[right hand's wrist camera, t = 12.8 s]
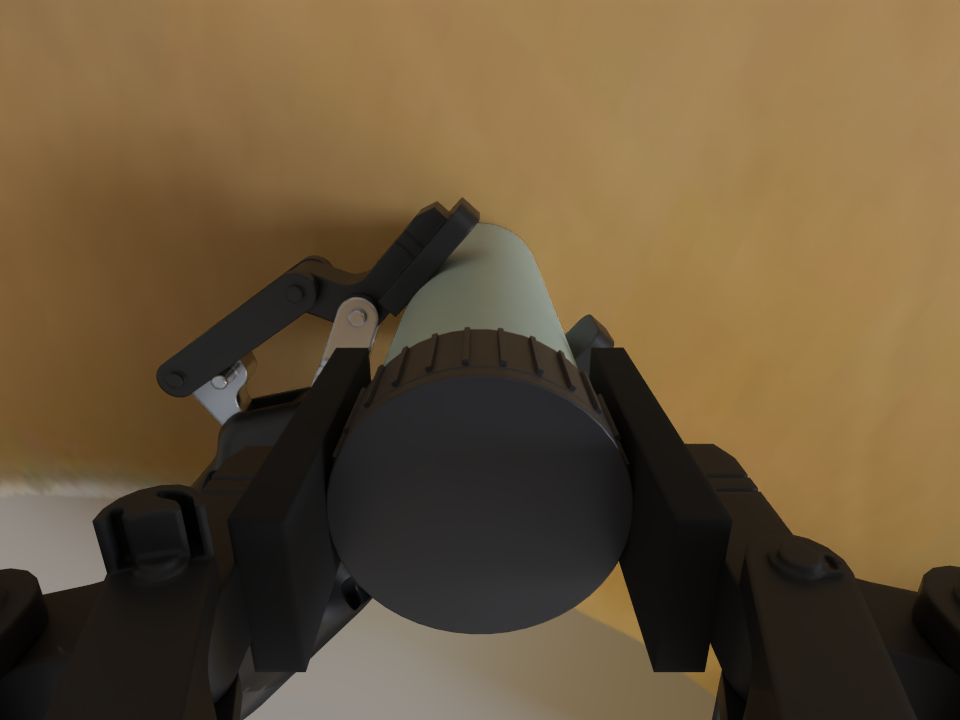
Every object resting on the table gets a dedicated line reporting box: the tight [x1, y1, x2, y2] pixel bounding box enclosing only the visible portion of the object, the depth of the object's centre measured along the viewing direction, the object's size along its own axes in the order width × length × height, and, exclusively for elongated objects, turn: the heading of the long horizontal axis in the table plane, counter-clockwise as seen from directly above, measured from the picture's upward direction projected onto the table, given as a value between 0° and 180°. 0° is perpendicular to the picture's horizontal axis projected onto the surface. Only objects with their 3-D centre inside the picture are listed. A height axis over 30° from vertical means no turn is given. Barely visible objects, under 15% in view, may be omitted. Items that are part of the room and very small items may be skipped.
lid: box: [326, 327, 634, 634], centre depth 11 cm, size 5×5×2 cm
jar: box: [383, 223, 578, 369], centre depth 18 cm, size 5×5×16 cm
